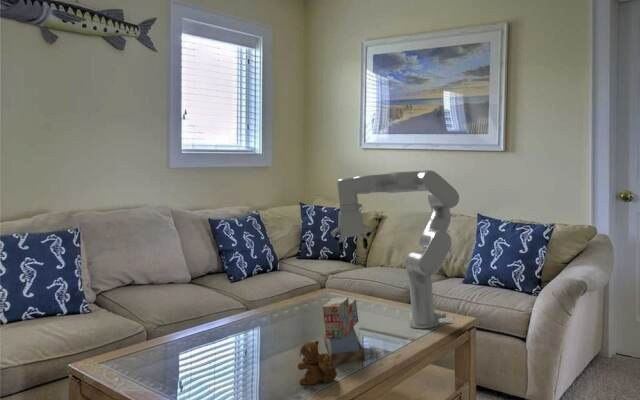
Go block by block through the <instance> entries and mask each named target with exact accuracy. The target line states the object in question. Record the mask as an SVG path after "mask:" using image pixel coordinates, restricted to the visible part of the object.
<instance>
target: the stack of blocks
mask: <svg viewBox="0 0 640 400" xmlns="http://www.w3.org/2000/svg"><path fill="white" fill-rule="evenodd" d="M322 311H323V322H324V332H325V335H326V339H342V338H343V337H344V336H345V335H346V334H347V333H348V332H349V331H350V329H351V328H352V327H354V326H356V325H357V324H358V322H359V314H358V313H359V312H358V307H357V299H356V298H353V299H352V298H350V299H349V297H332V298H331V299H330V300H329V301H328V302H326V303H325V304H323V305H322Z"/></svg>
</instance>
